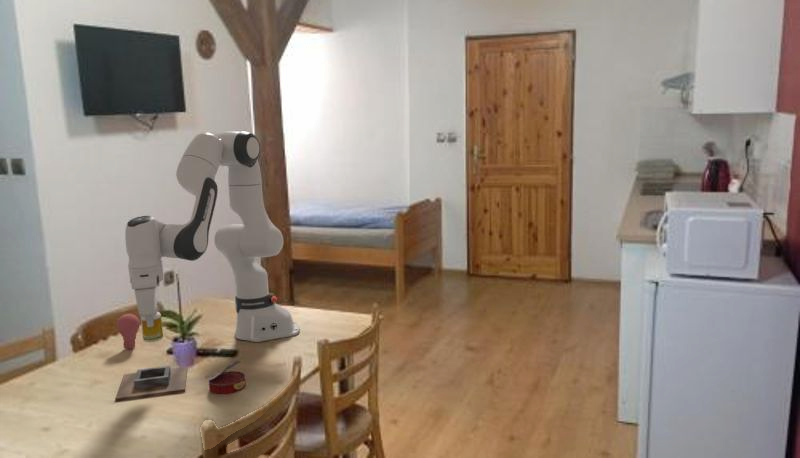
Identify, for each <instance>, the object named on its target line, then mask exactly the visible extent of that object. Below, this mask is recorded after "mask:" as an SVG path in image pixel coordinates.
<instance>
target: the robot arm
mask: <svg viewBox="0 0 800 458" xmlns="http://www.w3.org/2000/svg"><path fill="white" fill-rule="evenodd" d="M260 153H261V144H260V142H259V140H258V138H257V136H256V134H254V133H252V132H249V131H244V130H243V131H242V130H241V131H234V130H232V131H231V130H225V131H219V132H200V133H197V135H195V136H194V137H193V138H192V140H191V141H190V143H189V144H188V146H187V148H186V149H185V151H184V152H183V154H182V157H181V159H180V161H179V163H178V164H177V168H176V171H175V172H176V174H175V175H176V176H175V177H176V180H177V181H178V184H179V185H180V186H181V187H182V188H183V189H184V190H185V191H186V192H188V193H189V194H190V195H193V196H195V201H194V205H193V209H192V213H191V217H190V220H189V221H188V222H187V223H184V224H176V223H175V224H173V223H166V222H162V221H159V220H158V219H156V218H155V217H154V216H152V215H142V216H136V217H134V218H131V219H130V220H128V222H127V223H126V226H125V234H124V236H125V237H124V238H125V240H124V241H125V248H126V253H127V255H128V266H127V268H128V275H129V276H128V277H129V283H130V284H131V290H134V296H135V300H136V301H135V302H136V306H137V311H138V314H139V316H140V318H141V317H145V319H146V322H147V327H153V326H154V319H153V315H154V312H155V308H156V305H157V304H158V300H159V296H160V295H159V286H160V285H161V284H160V283H161V282H162V281H164V280H165V277H164V270H163V269H164V268H163V267H164V266H163V261H162V258H171V259H180V260H185V261H186V260H187V261H196V260H198V259H200V258H201V257H202V256H203V255H204V254H205V252H206V251H207V248H208V245H209V235H210V234H209V233H210V228H211V224H212V219H213V215H214V211H215V208H216V207H215V206H216V203H217V200H218V199H217V198H218V184H217V182H216V181H215V178H216V175H217V172H218V170H219V167H220V166H221V167H222V166H223V167H228V174H227V175H228V176H227V177H228V179H227V180H228V193H229V195H228V197H229V198H228V199H229V206H230V209H231V210H232V211H233V213H236V214H237V215H238V216H239V218H240V219H241V221H242V224H241V223H230V224H225V225H222V226H220V227H219V228H218V229H217V230H216V232H215V235H214V245H215V248H216V249H217V251H218V252H219V253H221V254H222V255H223V256H224V258H225V259H226V260H227V262H228V264H229V265H230V268H231V270H232V273H233V277H234V284H235V293H236V294H235V295H236V296H235V299H234V303H235V312H236V327H235V332H234V337H235V338H236V339H237V340H242V341H250V342H253V343H259V342H261V343H262V342H266V341H270V340H276V339H282V338H288V337H293V336H296V335H299V334H300V331H301V330H300V329H301V327H300V326H299V324H298V323H296V322H294V320H293V317H292V315H291V313H290V311H289V310H288V309H286V308H284V307H282V306H281V305H279V304H277V302H278V298H277V296H276V295H275V294H274V293H272V292H271V293H270V291H269V279H268V278H269V275H268V272H267V270H266V269H265V268H264V267H263V266H261V265H260V264H259V262H258V261H257V259H256V258H269V257H275V256H277V255H279V253H281V251H282V250H283V247H284V236H283V234H282V231H281V230H280V229H279V228H278V227H276V225H275V224H274V223H273V222H272V220H271V219H270V218H269V215H268V213H267V211H266V208H265V204H264V195H263V182H262V181H263V180H262V173H261V167H260V162H259V157H260ZM157 306H158V305H157Z"/></svg>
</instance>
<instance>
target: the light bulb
mask: <svg viewBox="0 0 800 458" xmlns="http://www.w3.org/2000/svg"><path fill="white" fill-rule="evenodd" d="M140 325H141V321H140V320H139V318H138V316H136V315H135V314H133V313H125V314H122V315H120V317H119V318H118V319H117V321H116V329H117V331H118V333H119V334H120V335H121V336H122V340H123V349H127V350H131V349H134V348H135V347H136V339H137V334H138V332H139V328H140Z"/></svg>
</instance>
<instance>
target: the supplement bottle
mask: <svg viewBox="0 0 800 458" xmlns="http://www.w3.org/2000/svg"><path fill="white" fill-rule="evenodd" d="M153 319H154V326H153V327H147V322H146V319H145V317H141V316H140V325H141V332H142V340H143V342H145V343H155V342H159V341H161V340H163V338H164V331H163V322H162V321H163V320H162V314H161V313H160V312H159V309H158V305H156V308H155V312H154V315H153Z"/></svg>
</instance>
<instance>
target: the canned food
mask: <svg viewBox="0 0 800 458" xmlns="http://www.w3.org/2000/svg"><path fill="white" fill-rule="evenodd" d="M240 363H241V360H237V361H234V362H232V364H230V365H227V366H226V367H225V368H224V369H223V370H222V371H220V372H218V373H215V374H213V375H212V376H210V377H209V378H208V385H209V393H211V394H213V395H219V396H220V395H224V396H225V395H230V394H231V395H232V394H236V393H239V392H241V391H242V390H243V389H245V388H246V376H245V375H246V374H245V373H243V372H241V371H236V370H235V371H234V370H233V371H232V370H231V371H228V370H230V369H231V368H233V367H235V366H236V365H238V364H240Z"/></svg>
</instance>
